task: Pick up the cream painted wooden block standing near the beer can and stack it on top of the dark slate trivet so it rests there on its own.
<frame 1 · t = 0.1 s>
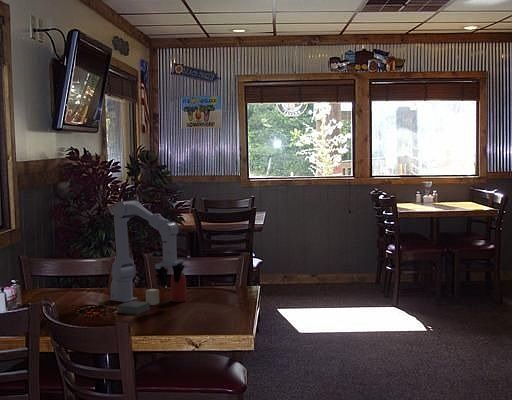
hand: (170, 283, 283), 10 cm above the table, fingers open, 7 cm apart
slate trivet: (134, 311, 278), on the table
cream block: (152, 303, 291), on the table
beer can: (178, 301, 296), on the table
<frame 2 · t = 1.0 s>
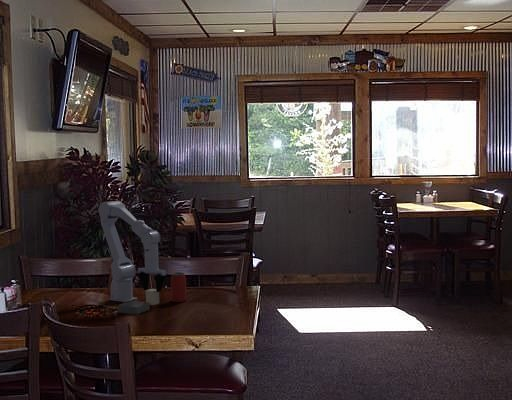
hand: (152, 290, 291), 6 cm above the table, fingers open, 7 cm apart
nothing on the table moved.
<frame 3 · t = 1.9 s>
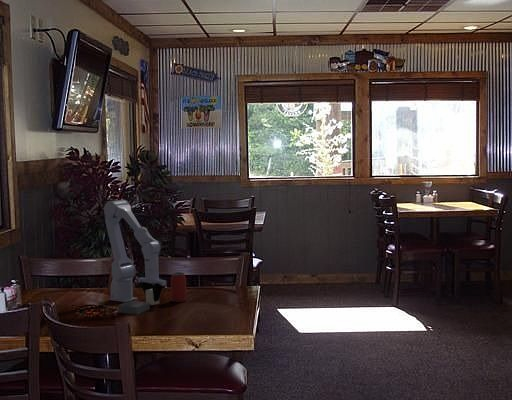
hand: (152, 300, 291), 1 cm above the table, fingers closed on cream block, 4 cm apart
cream block: (152, 303, 291), on the table, touching gripper
everything else where it was.
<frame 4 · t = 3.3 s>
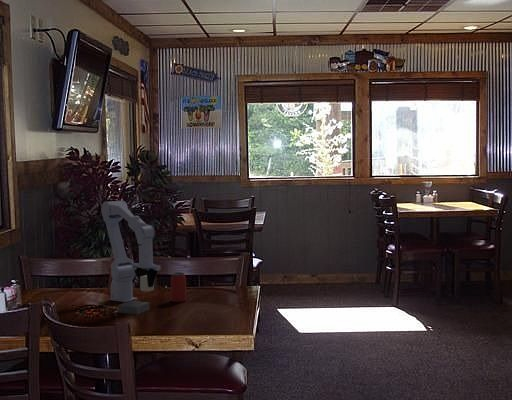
hand: (146, 286, 286), 8 cm above the table, fingers closed on cream block, 4 cm apart
cream block: (147, 290, 287), point 7 cm above the table, touching gripper
everything else where it was.
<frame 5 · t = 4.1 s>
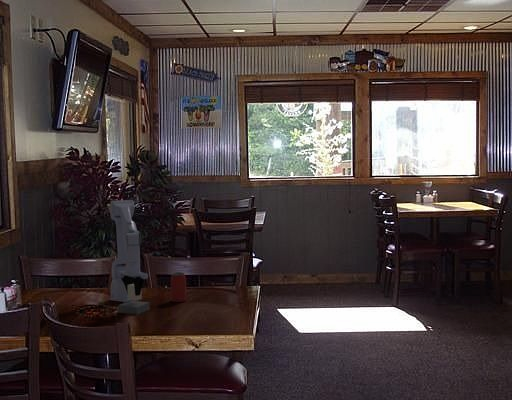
hand: (133, 294, 278), 7 cm above the table, fingers closed on cream block, 4 cm apart
cream block: (134, 299, 278), point 5 cm above the table, touching gripper
everything else where it was.
when the fingers open (6 cm above the table, at t = 4.7 s): cream block stays where it is, resting on slate trivet.
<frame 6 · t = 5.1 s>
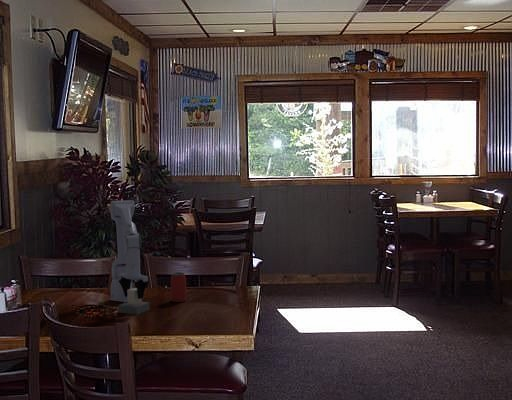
hand: (133, 297, 278), 6 cm above the table, fingers open, 7 cm apart
cream block: (134, 303, 278), point 3 cm above the table, touching slate trivet
everything else where it was.
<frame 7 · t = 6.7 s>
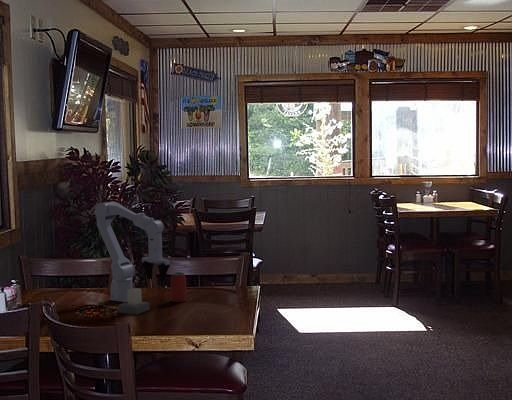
hand: (156, 280, 292), 10 cm above the table, fingers open, 7 cm apart
nothing on the table moved.
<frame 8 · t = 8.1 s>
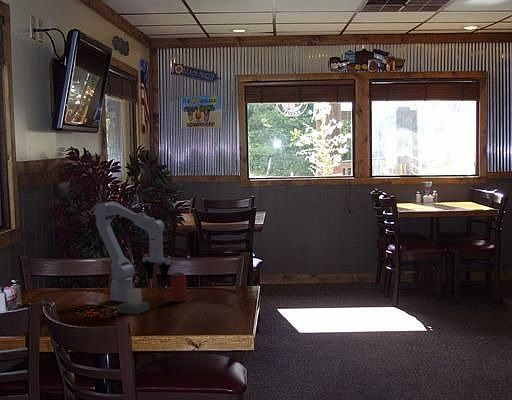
hand: (156, 279, 293), 10 cm above the table, fingers open, 7 cm apart
nothing on the table moved.
at the end: cream block 0.4 cm off-centre on the slate trivet, point 3.0 cm above the slate trivet's base; cream block tilted 0°; the gripper is holding nothing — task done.
